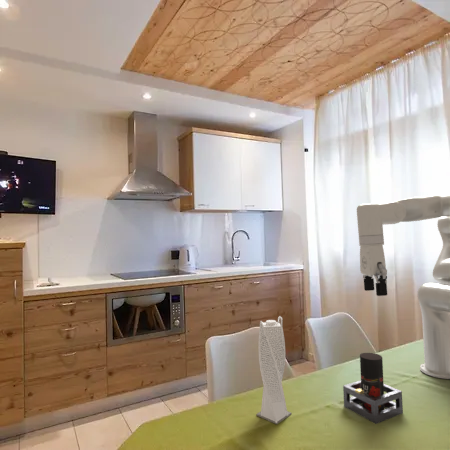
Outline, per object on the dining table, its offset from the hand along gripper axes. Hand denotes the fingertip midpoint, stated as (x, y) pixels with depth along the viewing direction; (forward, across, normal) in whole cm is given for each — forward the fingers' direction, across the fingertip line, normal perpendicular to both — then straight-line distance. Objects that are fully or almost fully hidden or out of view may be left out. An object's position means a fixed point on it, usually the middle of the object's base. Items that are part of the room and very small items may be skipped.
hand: (375, 292), depth 111 cm
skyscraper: (+29, +17, -37) cm, 50 cm away
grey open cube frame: (+30, +14, -9) cm, 35 cm away
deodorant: (+30, +14, -9) cm, 35 cm away
